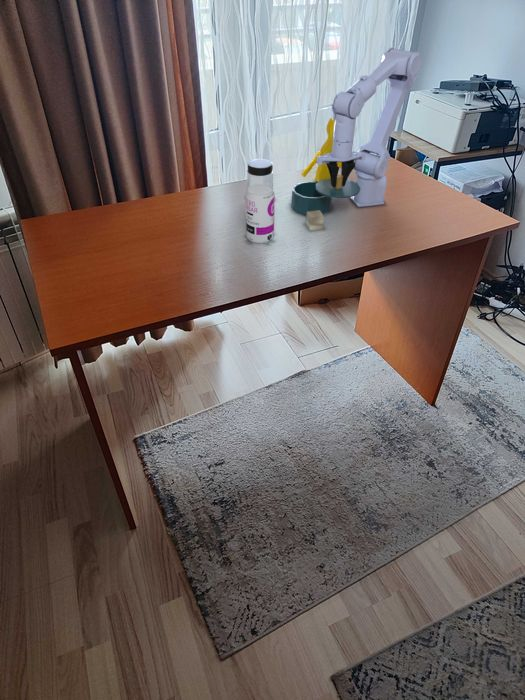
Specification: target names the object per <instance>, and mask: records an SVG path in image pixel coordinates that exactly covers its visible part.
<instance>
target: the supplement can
mask: <svg viewBox="0 0 525 700" xmlns="http://www.w3.org/2000/svg"><path fill="white" fill-rule="evenodd" d="M275 195H276V194H275V192H274V189H273V190H272V187H270V186H268V185H264V184H256V185H252V186H250V187H249V188H248V190H246V192H245V225H246V226H245V229H246V235H245V236H246V238H247V239H248V240H249V241H250V242H251V243H254V244H258V245H259V244H261V245H262V244H266V243H269V242H270V241H272V240H273V239H274V237H275V201H276V197H275Z"/></svg>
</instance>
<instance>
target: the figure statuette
mask: <svg viewBox="0 0 525 700" xmlns="http://www.w3.org/2000/svg"><path fill="white" fill-rule="evenodd" d="M334 127H335V121H334V119H333V117H332V118H329V119H328V122H327V124H326V128H325V129H326V135H327V138H326V140H325V142H324V143H323V145H322V146H321V147H320V150H319V151H317V152H316V154H315V155H314V157H313V159H312V160H311V162H310V163H309V164H308V165H307V166H306V168H304V170H303V171H302V172H301V173H300V175H301V176H302V177H304V178H305V177H306V176H307V175H308V174H309V173H310V171H311V170H312V169H313V168H314V166H315V165H316V164H317V156H321V155H325V154H329V153H332V147H333V137H334ZM337 164H338V165H337V166H338V167H339V169H341V170H342V163H341V162H337ZM329 178H331V177H330V173H329V169H328V167H327V164H326V163H325V164H322V165H318V164H317V168H316V171H315V177H314V182H319V181H321V180H324V179H329Z"/></svg>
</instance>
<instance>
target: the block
mask: <svg viewBox="0 0 525 700" xmlns="http://www.w3.org/2000/svg"><path fill="white" fill-rule="evenodd" d="M305 219H306V220H305V225H306V227H307V228H308V230H309V231H317V230H323V229H324V222H325V221H324V220H325V215H324V214H322V213H321V211H320V210H317V211H308V212H307V216H306V218H305Z"/></svg>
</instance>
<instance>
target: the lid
mask: <svg viewBox="0 0 525 700" xmlns="http://www.w3.org/2000/svg"><path fill="white" fill-rule="evenodd" d="M342 181H343V176H342V175H341V174H338V175H337V183H336V187H333V186H332V185H331V178H329V179H324V180H321V181H319V182H318V183H317V184H316V191H317V192H318V193H320V194H322V195H324V196H327V197H331V199H348V198H349V199H350V197H353V196H355V195H357V194H358V193H359V192H360V186H359V185H358V184H357V183H356V181H353V180H350V179H347V181H346V184H345V186H342Z"/></svg>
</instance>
